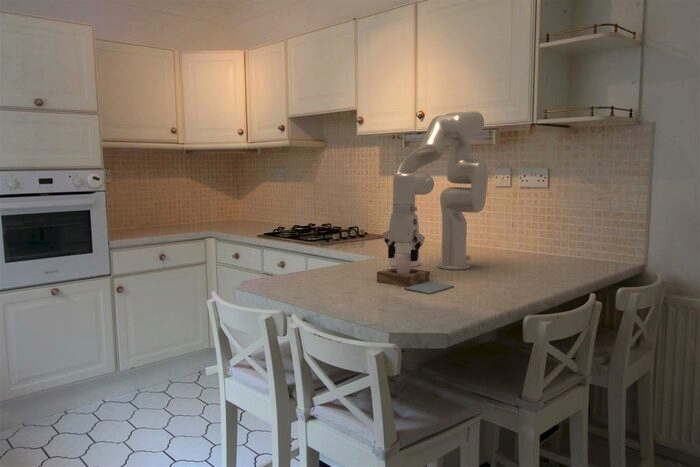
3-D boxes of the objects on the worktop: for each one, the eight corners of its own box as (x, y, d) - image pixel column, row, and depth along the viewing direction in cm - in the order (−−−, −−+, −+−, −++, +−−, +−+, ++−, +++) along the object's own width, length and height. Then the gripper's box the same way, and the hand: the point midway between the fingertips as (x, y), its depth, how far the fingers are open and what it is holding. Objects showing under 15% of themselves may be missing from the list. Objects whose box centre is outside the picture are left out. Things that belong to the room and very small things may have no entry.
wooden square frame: (400, 276, 196) (400, 266, 195) (429, 281, 187) (429, 271, 186) (376, 281, 186) (376, 271, 186) (406, 287, 177) (406, 276, 177)
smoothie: (391, 280, 188) (391, 240, 187) (407, 279, 191) (407, 239, 189) (399, 284, 183) (399, 243, 181) (415, 282, 185) (416, 242, 183)
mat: (429, 283, 184) (429, 281, 184) (454, 287, 177) (454, 285, 177) (403, 289, 174) (404, 287, 174) (429, 294, 167) (429, 292, 167)
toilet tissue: (422, 263, 222) (422, 239, 220) (413, 268, 211) (413, 243, 210) (398, 261, 226) (398, 238, 225) (387, 266, 215) (387, 241, 214)
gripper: (431, 210, 180) (429, 261, 182) (390, 208, 192) (390, 255, 194) (417, 211, 175) (416, 263, 177) (377, 208, 187) (376, 257, 188)
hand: (402, 259), depth 185 cm, fingers open, 9 cm apart
